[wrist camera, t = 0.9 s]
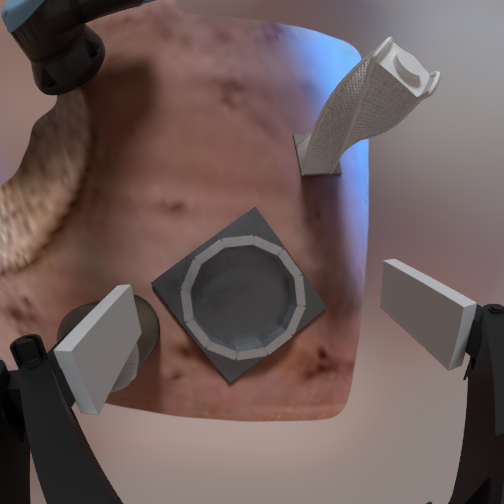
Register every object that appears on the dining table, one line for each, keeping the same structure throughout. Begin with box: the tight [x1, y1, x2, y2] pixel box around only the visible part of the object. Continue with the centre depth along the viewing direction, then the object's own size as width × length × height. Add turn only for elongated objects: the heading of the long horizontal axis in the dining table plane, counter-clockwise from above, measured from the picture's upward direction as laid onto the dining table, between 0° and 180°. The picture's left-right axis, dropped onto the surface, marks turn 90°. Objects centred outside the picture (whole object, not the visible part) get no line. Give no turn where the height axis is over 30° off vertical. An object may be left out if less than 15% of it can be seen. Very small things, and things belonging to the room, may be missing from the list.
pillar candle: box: [57, 295, 160, 394], centre depth 31 cm, size 10×10×15 cm
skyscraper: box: [293, 37, 440, 176], centre depth 31 cm, size 8×8×28 cm
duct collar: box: [151, 207, 327, 382], centre depth 39 cm, size 18×18×4 cm
